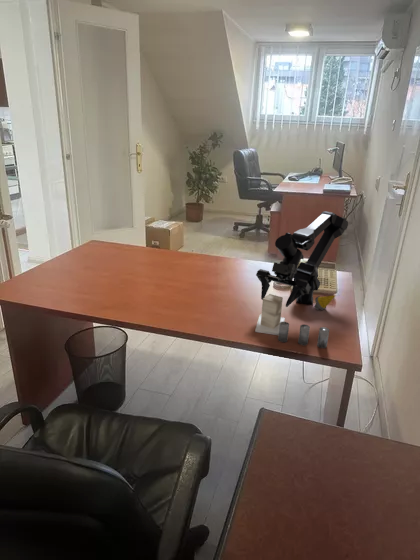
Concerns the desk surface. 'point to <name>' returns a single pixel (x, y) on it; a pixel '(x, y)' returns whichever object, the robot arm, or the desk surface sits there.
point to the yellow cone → (323, 302)
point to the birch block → (271, 311)
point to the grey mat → (265, 329)
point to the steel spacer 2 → (323, 337)
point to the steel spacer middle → (304, 334)
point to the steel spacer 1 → (283, 331)
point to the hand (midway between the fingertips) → (273, 302)
